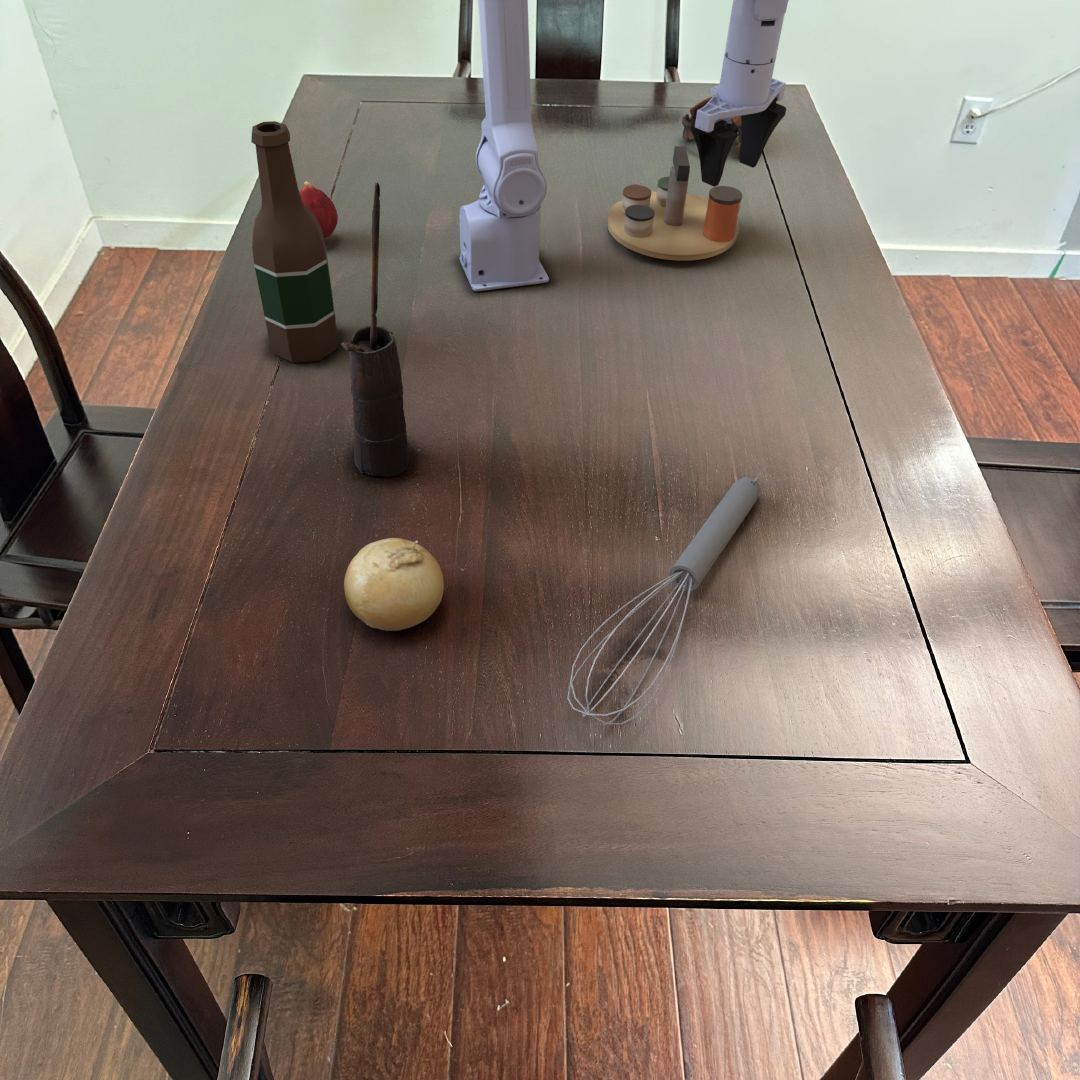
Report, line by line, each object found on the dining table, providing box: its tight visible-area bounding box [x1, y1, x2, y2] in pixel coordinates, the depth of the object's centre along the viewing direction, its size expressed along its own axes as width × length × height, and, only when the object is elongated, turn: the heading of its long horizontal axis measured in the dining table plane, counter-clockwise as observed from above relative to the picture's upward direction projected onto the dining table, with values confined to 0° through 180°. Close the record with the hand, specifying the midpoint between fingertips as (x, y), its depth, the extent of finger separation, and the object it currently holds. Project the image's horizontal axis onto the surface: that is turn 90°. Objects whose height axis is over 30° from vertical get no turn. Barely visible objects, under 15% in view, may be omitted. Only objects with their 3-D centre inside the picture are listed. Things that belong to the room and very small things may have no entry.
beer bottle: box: [251, 120, 339, 364], centre depth 98 cm, size 8×8×24 cm
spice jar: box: [703, 185, 743, 242], centre depth 121 cm, size 4×4×6 cm
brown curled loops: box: [681, 96, 742, 153], centre depth 145 cm, size 12×10×8 cm
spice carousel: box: [606, 145, 740, 262], centre depth 122 cm, size 17×17×10 cm
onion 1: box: [299, 180, 339, 241], centre depth 119 cm, size 6×6×8 cm
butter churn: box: [340, 182, 410, 478], centre depth 83 cm, size 9×10×28 cm
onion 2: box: [343, 537, 445, 632], centre depth 78 cm, size 8×8×7 cm
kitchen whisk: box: [567, 472, 761, 728], centre depth 80 cm, size 6×34×6 cm, turn 149°
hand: (729, 173), depth 117 cm, fingers open, 7 cm apart
